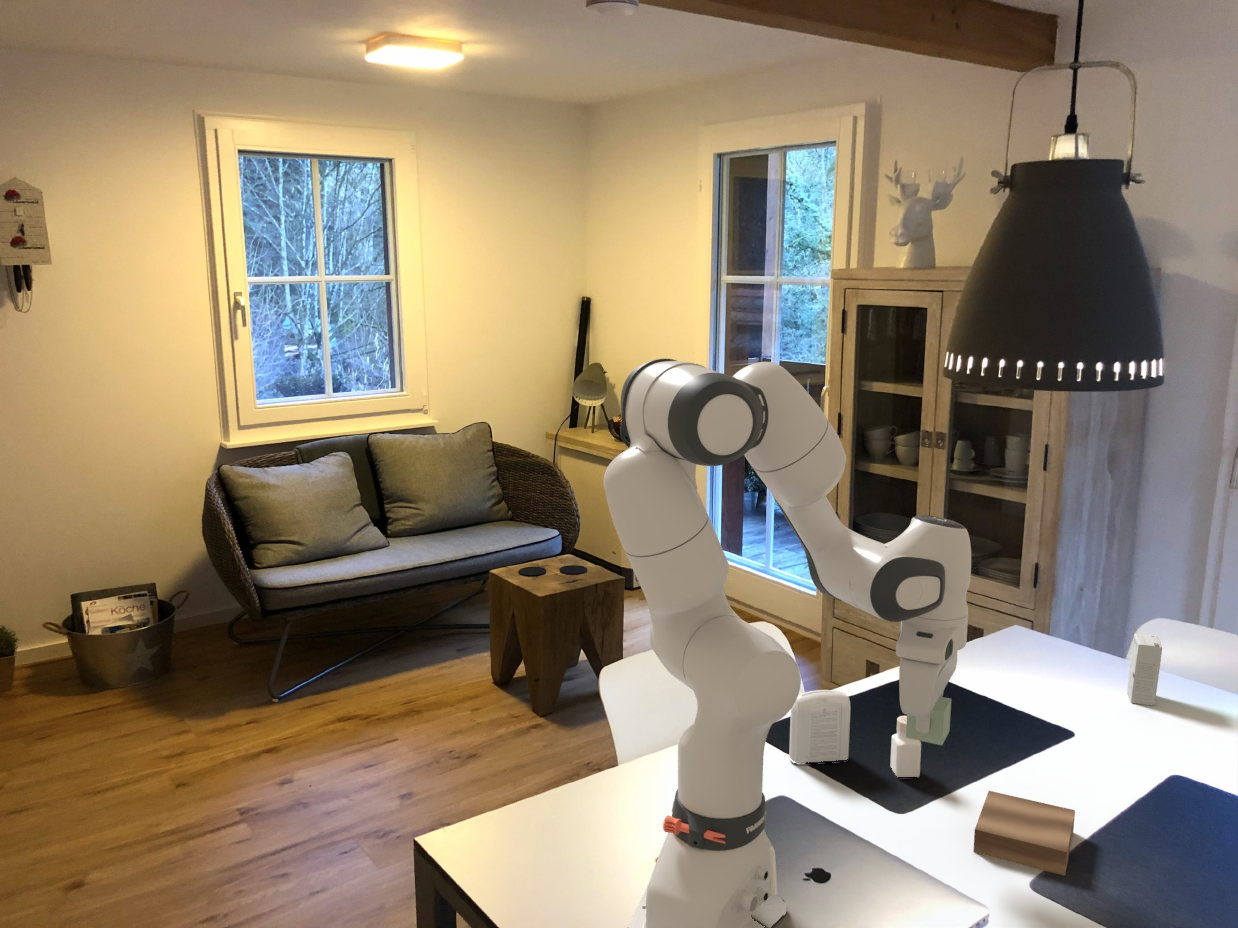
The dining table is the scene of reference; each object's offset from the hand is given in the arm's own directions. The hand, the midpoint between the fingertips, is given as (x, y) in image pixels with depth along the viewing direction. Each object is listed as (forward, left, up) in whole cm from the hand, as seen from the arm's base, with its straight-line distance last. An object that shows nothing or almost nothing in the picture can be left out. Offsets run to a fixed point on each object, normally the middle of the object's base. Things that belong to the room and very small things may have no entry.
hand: (928, 721), depth 141 cm
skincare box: (+68, -26, -19) cm, 75 cm away
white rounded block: (+16, +21, -19) cm, 32 cm away
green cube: (0, 0, -2) cm, 2 cm away
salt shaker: (+18, +7, -19) cm, 27 cm away
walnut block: (+6, -13, -19) cm, 24 cm away
